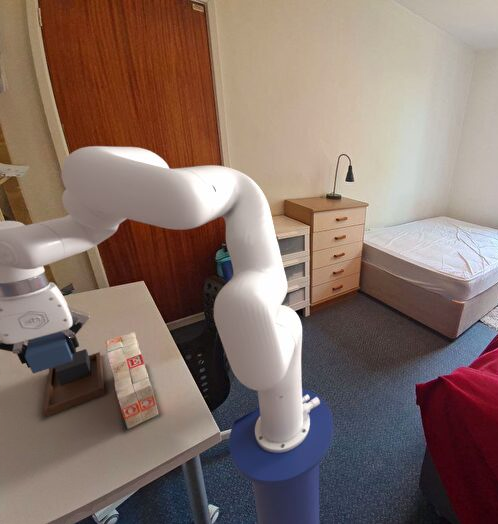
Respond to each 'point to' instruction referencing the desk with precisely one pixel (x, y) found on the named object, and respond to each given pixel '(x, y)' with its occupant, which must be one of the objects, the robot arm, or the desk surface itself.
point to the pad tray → (74, 388)
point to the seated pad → (74, 368)
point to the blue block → (47, 352)
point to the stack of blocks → (131, 380)
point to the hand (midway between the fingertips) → (53, 356)
